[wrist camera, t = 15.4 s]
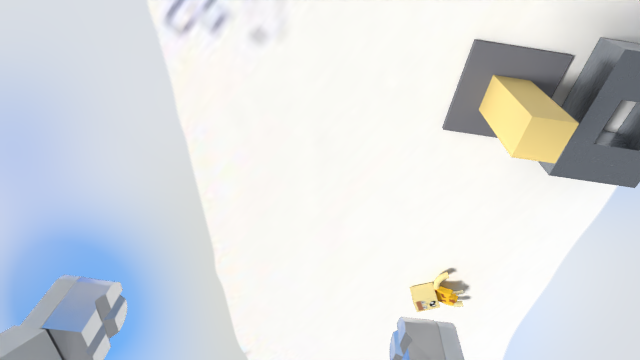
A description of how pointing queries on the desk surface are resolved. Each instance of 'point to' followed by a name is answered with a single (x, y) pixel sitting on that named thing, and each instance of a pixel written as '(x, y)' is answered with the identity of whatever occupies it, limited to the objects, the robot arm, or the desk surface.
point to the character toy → (434, 295)
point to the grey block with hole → (603, 118)
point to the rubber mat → (502, 62)
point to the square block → (526, 119)
